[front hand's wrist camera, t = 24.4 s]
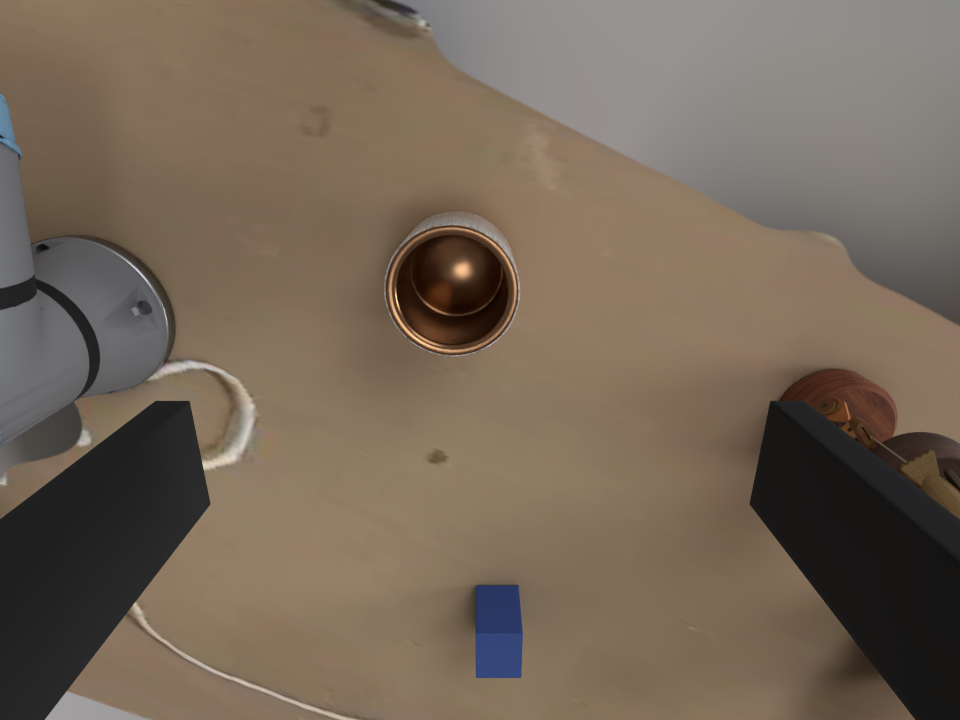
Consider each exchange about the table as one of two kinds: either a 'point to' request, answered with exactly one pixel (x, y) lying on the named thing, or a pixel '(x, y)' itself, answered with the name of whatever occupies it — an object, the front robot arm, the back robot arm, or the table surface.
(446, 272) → the planter
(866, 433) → the music box
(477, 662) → the brick
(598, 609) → the table surface
